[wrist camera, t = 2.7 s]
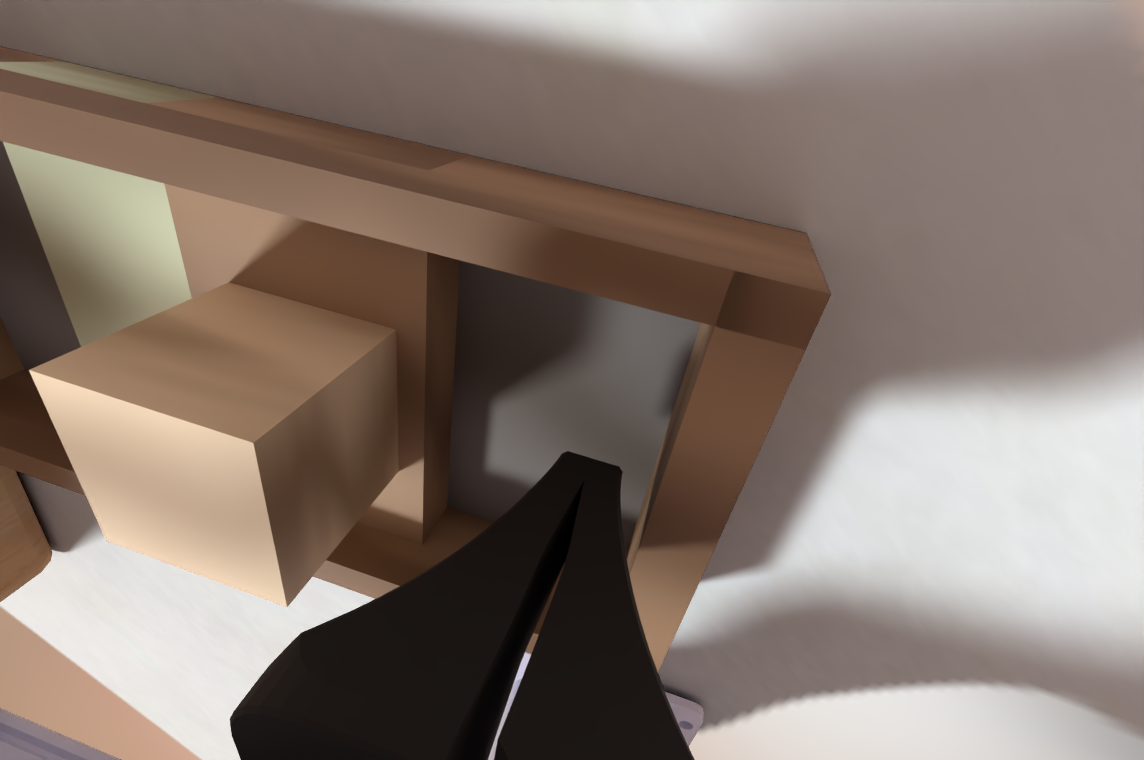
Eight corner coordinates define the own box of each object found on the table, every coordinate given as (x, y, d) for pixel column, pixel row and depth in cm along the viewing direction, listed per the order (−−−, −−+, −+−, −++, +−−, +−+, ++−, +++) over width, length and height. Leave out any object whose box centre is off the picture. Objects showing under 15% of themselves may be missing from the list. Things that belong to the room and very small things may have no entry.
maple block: (398, 471, 15) (287, 607, 11) (257, 425, 16) (106, 541, 12) (396, 329, 13) (253, 443, 9) (229, 282, 13) (29, 370, 10)
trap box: (662, 590, 18) (647, 695, 15) (11, 376, 21) (-105, 427, 18) (806, 233, 11) (830, 294, 8) (-165, 8, 15) (-389, -4, 12)
